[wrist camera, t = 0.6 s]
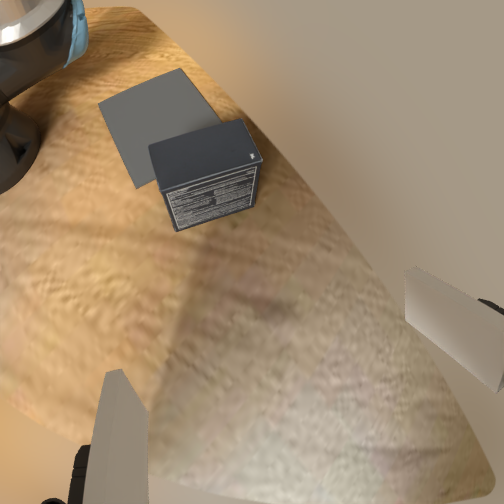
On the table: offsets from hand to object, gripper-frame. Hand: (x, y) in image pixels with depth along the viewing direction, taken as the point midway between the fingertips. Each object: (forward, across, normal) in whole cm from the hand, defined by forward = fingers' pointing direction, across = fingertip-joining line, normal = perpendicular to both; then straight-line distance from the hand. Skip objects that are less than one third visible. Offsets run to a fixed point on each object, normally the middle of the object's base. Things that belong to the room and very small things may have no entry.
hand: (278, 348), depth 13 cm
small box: (+30, 0, +2) cm, 30 cm away
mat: (+38, -3, +15) cm, 41 cm away
